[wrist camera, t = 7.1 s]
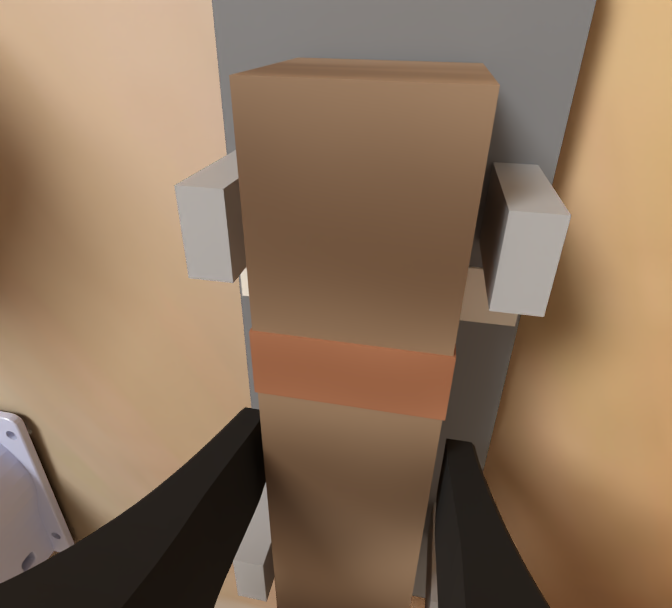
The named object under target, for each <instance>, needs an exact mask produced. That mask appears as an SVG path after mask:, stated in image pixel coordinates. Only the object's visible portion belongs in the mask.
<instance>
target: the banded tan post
mask: <svg viewBox="0 0 672 608" xmlns="http://www.w3.org/2000/svg"><path fill="white" fill-rule="evenodd" d="M229 79H230V90H231V101H232V112H233V124H234V135H235V146H236V157H237V168H238V179H239V190H240V201H241V212H242V223H243V234H244V245H245V256H246V267H247V278H248V289H249V300H250V312H251V323H252V328H251V329H250V331H249V337H250V347H251V358H252V368H253V379H254V390H255V392H257V393H258V400H259V411H260V422H261V433H262V444H263V455H264V466H265V477H266V488H267V499H268V511H269V522H270V533H271V544H272V555H273V566H274V577H275V588H276V599H277V608H410V605H411V599H412V593H413V588H414V582H415V576H416V570H417V564H418V559H419V553H420V547H421V541H422V535H423V530H424V524H425V518H426V512H427V506H428V501H429V495H430V489H431V483H432V477H433V471H434V466H435V460H436V454H437V448H438V442H439V437H440V431H441V425H442V420H444V421H445V418H446V412H447V407H448V401H449V395H450V390H451V384H452V378H453V373H454V367H455V361H456V338H457V332H458V326H459V320H460V315H461V309H462V303H463V297H464V291H465V286H466V280H467V274H468V268H469V262H470V257H471V251H472V245H473V239H474V233H475V227H476V222H477V216H478V210H479V204H480V198H481V193H482V187H483V181H484V175H485V169H486V164H487V158H488V152H489V146H490V140H491V135H492V129H493V123H494V117H495V111H496V106H497V100H498V94H499V88H500V85H499V83H498V82H497V81H496V79H495V78H494V77H493V75H492V74H491V73H490V72H489V70H488V69H487V68H486V66H485V65H484V64H483V63H464V62H431V61H398V60H365V59H332V58H299V57H298V58H294V59H290V60H286V61H282V62H279V63H275V64H271V65H267V66H263V67H259V68H255V69H251V70H247V71H243V72H239V73H235V74H231V75H229Z"/></svg>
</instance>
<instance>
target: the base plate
mask: <svg viewBox="0 0 672 608" xmlns="http://www.w3.org/2000/svg"><path fill="white" fill-rule="evenodd" d="M595 4H596V0H212V7H213V17H214V27H215V37H216V48H217V58H218V68H219V78H220V89H221V99H222V109H223V119H224V130H225V140H226V150H227V155H226V156H224V157H223V158H221V159H219V160H217V161H216V162H214V163H212V164H210V165H209V166H207V167H205V168H204V169H202V170H200V171H198V172H197V173H195V174H193V175H191V176H190V177H188V178H186V179H184V180H183V181H181V182H179V183H177V184H176V185H174V186H175V192H176V199H177V205H178V212H179V218H180V225H181V231H182V237H183V244H184V250H185V257H186V263H187V269H188V276H189V278H193V279H202V280H211V281H220V282H229V283H234V281H235V280H236V279H237V278H238V277H239V283H240V294H241V304H242V314H243V324H244V335H245V345H246V355H247V365H248V376H249V386H250V396H251V406H252V408H253V409H259V400H258V393H257V392H255V390H254V379H253V368H252V358H251V347H250V337H249V331H250V329H251V328H252V323H251V312H250V300H249V289H248V278H247V267H246V256H245V245H244V234H243V223H242V212H241V201H240V190H239V179H238V168H237V157H236V146H235V135H234V124H233V112H232V101H231V90H230V79H229V75H231V74H235V73H239V72H243V71H247V70H251V69H255V68H259V67H263V66H267V65H271V64H275V63H279V62H282V61H286V60H290V59H294V58H298V57H299V58H332V59H365V60H398V61H431V62H464V63H483V64H484V65H485V66H486V68H487V69H488V70H489V72H490V73H491V74H492V75H493V77H494V78H495V79H496V81H497V82H498V83H499V85H500V88H499V94H498V100H497V106H496V111H495V117H494V123H493V129H492V135H491V140H490V146H489V152H488V158H487V164H486V169H485V175H484V181H483V187H482V193H481V198H480V204H479V210H478V216H477V222H476V227H475V233H474V239H473V245H472V251H471V257H470V262H469V268H468V274H467V280H466V286H465V291H464V297H463V303H462V309H461V315H460V320H459V326H458V332H457V338H456V361H455V367H454V373H453V378H452V384H451V390H450V395H449V401H448V407H447V412H446V418H445V421H444V420H442V425H441V431H440V437H439V442H438V448H437V454H436V460H435V466H434V471H433V477H432V483H431V489H430V495H429V501H428V506H427V512H426V518H425V524H424V530H423V535H422V541H421V547H420V553H419V559H418V564H417V570H416V576H415V582H414V588H413V593H412V596H417V597H422V598H425V608H438V595H437V575H436V554H435V515H436V496H437V488H438V483H439V477H440V471H441V466H442V460H443V454H444V449H445V443H446V438H448V439H454V440H461V441H467V442H472V444H473V445H474V446H475V448H476V452H477V456H478V459H479V462H480V465H481V468H482V471H483V470H484V466H485V462H486V457H487V453H488V449H489V445H490V441H491V437H492V432H493V428H494V424H495V420H496V416H497V412H498V408H499V403H500V399H501V395H502V391H503V387H504V383H505V378H506V374H507V370H508V366H509V362H510V358H511V353H512V349H513V345H514V341H515V337H516V333H517V328H518V324H519V320H520V316H521V315H530V316H540V317H544V315H545V311H546V307H547V304H548V300H549V296H550V292H551V289H552V285H553V281H554V278H555V274H556V270H557V266H558V263H559V259H560V255H561V252H562V248H563V244H564V240H565V237H566V233H567V229H568V226H569V222H570V218H571V214H570V213H569V211H568V210H567V208H566V207H565V205H564V204H563V202H562V200H561V199H560V197H559V196H558V194H557V193H556V191H555V190H554V188H553V187H552V183H553V179H554V175H555V170H556V166H557V162H558V158H559V154H560V150H561V145H562V141H563V137H564V133H565V129H566V125H567V120H568V116H569V112H570V108H571V104H572V100H573V95H574V91H575V87H576V83H577V79H578V75H579V71H580V66H581V62H582V58H583V54H584V50H585V46H586V41H587V37H588V33H589V29H590V25H591V21H592V16H593V12H594V8H595ZM233 565H234V571H235V577H236V584H237V590H238V595H239V596H244V597H248V598H253V599H257V600H262V601H266V602H267V599H268V596H269V592H270V589H271V586H272V583H273V580H274V566H273V555H272V544H271V533H270V522H269V511H268V499H267V488H266V483H265V486H264V489H263V492H262V495H261V498H260V501H259V503H258V506H257V508H256V510H255V513H254V515H253V517H252V520H251V522H250V524H249V526H248V529H247V531H246V533H245V535H244V538H243V540H242V542H241V544H240V547H239V549H238V551H237V553H236V556H235V558H234V560H233Z"/></svg>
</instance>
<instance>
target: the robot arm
mask: <svg viewBox="0 0 672 608" xmlns="http://www.w3.org/2000/svg"><path fill="white" fill-rule="evenodd" d="M265 483H266V477H265V466H264V455H263V444H262V433H261V422H260V411H259V409H253V408H246V407H245V408H244V409H242V410H241V411H240V412H239V413H238V414H237V415H236V416H235V417H234V418H233V419H232V420H231V421H230V422H229V423H228V424H227V425H226V426H225V427H224V428H223V429H222V430H221V431H220V432H219V433H218V434H217V435H216V436H215V437H214V438H213V439H212V440H211V441H210V442H209V443H207V444H206V445H205V446H204V447H203V448H202V449H201V450H200V451H199V452H198V453H197V454H195V455H194V456H193V457H192V458H191V459H190V460H189V461H188V462H187V463H186V464H184V465H183V466H182V467H181V468H180V469H179V470H177V471H176V472H175V473H174V474H173V475H171V476H170V477H169V478H168V479H167V480H165V481H164V482H163V483H162V484H161V485H159V486H158V487H157V488H156V489H154V490H153V491H152V492H150V493H149V494H148V495H147V496H145V497H144V498H143V499H141V500H140V501H139V502H137V503H136V504H135V505H133V506H132V507H130V508H129V509H128V510H126V511H125V512H123V513H122V514H121V515H119V516H118V517H116V518H115V519H113V520H112V521H110V522H109V523H107V524H106V525H104V526H103V527H101V528H99V529H98V530H96V531H95V532H93V533H92V534H90V535H89V536H87V537H85V538H84V539H82V540H80V541H79V542H77V543H76V544H74V541H73V539H72V536H71V534H70V532H69V529H68V527H67V524H66V522H65V520H64V517H63V515H62V512H61V510H60V508H59V505H58V503H57V500H56V498H55V496H54V493H53V491H52V489H51V486H50V484H49V481H48V479H47V477H46V474H45V472H44V469H43V467H42V465H41V462H40V460H39V457H38V455H37V453H36V450H35V448H34V445H33V443H32V441H31V438H30V436H29V433H28V431H27V429H26V426H25V424H24V422H23V420H22V419H21V418H20V417H19V416H17V415H16V414H13V413H8V412H2V411H0V608H214V606H215V603H216V600H217V598H218V595H219V593H220V590H221V588H222V585H223V583H224V580H225V578H226V576H227V573H228V571H229V569H230V567H231V564H232V562H233V560H234V558H235V556H236V553H237V551H238V549H239V547H240V544H241V542H242V540H243V538H244V535H245V533H246V531H247V529H248V526H249V524H250V522H251V520H252V517H253V515H254V513H255V510H256V508H257V506H258V503H259V501H260V498H261V495H262V492H263V489H264V486H265ZM53 551H56V552H60V553H58V554H56V555H54V556H53V557H51V558H49V557H50V555H51V554H52V553H53ZM435 554H436V575H437V595H438V608H550V606H549V605H548V603H547V602H546V600H545V598H544V597H543V595H542V593H541V592H540V590H539V588H538V587H537V585H536V583H535V581H534V580H533V578H532V576H531V574H530V573H529V571H528V569H527V567H526V565H525V564H524V562H523V560H522V558H521V556H520V554H519V552H518V550H517V548H516V546H515V544H514V543H513V541H512V539H511V537H510V534H509V532H508V530H507V528H506V526H505V524H504V522H503V520H502V517H501V515H500V513H499V511H498V508H497V506H496V504H495V502H494V499H493V497H492V495H491V492H490V490H489V487H488V484H487V482H486V479H485V477H484V474H483V471H482V468H481V465H480V462H479V459H478V456H477V452H476V448H475V446H474V445H473V444H472V442H467V441H461V440H454V439H448V438H446V443H445V449H444V454H443V460H442V466H441V471H440V477H439V483H438V488H437V496H436V515H435ZM48 558H49V559H48Z"/></svg>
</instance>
